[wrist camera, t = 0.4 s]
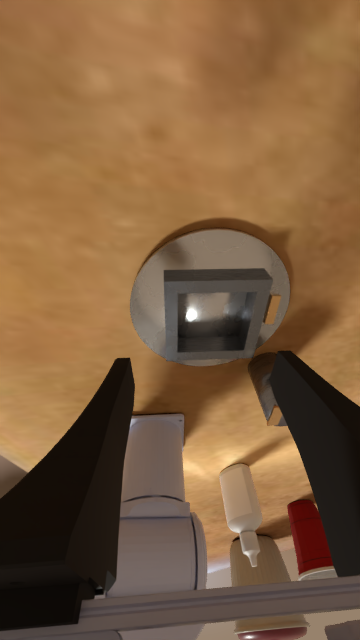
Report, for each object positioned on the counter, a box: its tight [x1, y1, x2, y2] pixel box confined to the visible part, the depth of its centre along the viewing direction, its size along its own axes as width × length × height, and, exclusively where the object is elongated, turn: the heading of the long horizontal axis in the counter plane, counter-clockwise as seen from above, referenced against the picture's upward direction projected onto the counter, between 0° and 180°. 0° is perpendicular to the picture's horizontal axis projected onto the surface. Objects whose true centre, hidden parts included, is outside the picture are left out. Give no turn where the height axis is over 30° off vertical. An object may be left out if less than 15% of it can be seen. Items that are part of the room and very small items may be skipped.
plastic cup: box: [287, 500, 338, 581], centre depth 50 cm, size 11×11×12 cm
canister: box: [230, 535, 310, 640], centre depth 63 cm, size 18×18×21 cm
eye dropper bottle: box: [219, 463, 262, 567], centre depth 37 cm, size 4×6×12 cm
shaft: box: [248, 353, 287, 426], centre depth 25 cm, size 4×4×6 cm
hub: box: [130, 228, 290, 366], centre depth 21 cm, size 14×14×3 cm
